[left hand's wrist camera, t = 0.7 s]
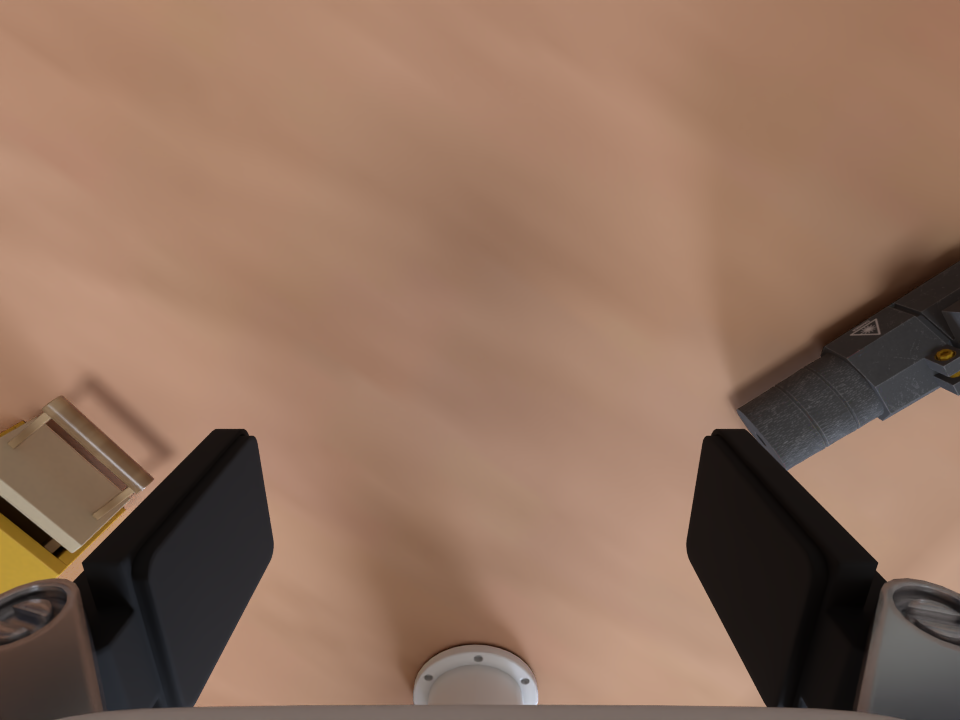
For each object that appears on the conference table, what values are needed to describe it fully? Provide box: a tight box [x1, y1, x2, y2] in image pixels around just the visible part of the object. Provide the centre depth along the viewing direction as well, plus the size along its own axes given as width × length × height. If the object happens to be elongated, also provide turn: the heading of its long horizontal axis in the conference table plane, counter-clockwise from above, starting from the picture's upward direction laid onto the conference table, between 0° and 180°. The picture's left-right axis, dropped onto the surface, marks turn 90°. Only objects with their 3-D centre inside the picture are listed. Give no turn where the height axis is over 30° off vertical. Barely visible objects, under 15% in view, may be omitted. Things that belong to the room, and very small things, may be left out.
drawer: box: [0, 396, 154, 554], centre depth 43 cm, size 23×10×6 cm, turn 126°
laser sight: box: [737, 261, 960, 470], centre depth 37 cm, size 10×22×10 cm, turn 128°
